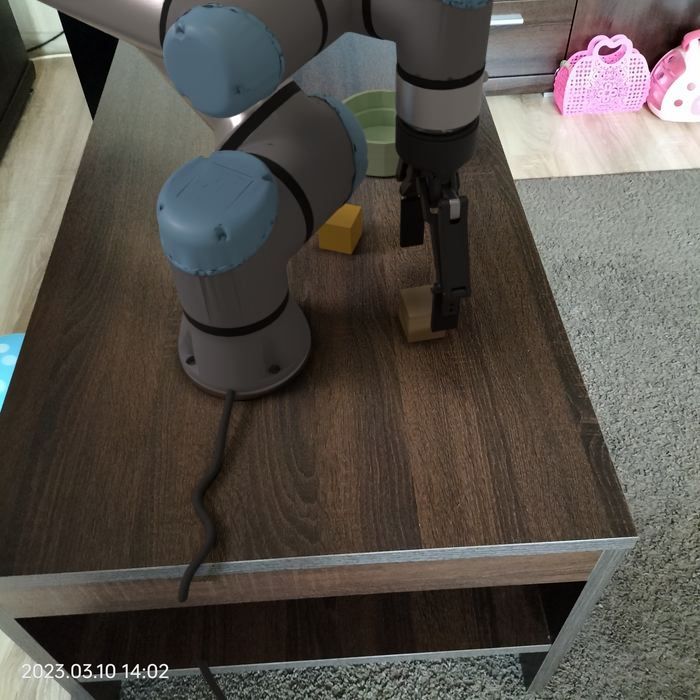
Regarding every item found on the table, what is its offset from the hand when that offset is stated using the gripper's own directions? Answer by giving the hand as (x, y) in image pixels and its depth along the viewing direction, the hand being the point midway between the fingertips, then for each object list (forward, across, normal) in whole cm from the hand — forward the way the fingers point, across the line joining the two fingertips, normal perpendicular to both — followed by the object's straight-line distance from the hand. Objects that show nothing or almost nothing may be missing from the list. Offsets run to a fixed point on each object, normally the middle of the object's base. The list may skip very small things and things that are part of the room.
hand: (426, 284), depth 81 cm
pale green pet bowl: (+7, +36, -3) cm, 37 cm away
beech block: (+7, 0, 0) cm, 7 cm away
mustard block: (+7, +18, +7) cm, 20 cm away
